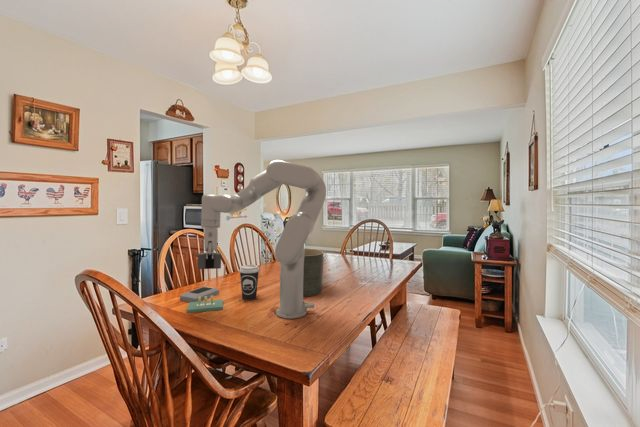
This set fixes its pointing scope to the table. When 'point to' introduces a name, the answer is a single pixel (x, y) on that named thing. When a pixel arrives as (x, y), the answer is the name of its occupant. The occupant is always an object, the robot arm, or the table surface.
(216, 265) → the block
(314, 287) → the planter
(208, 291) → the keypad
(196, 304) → the board
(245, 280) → the coffee cup
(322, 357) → the table surface
